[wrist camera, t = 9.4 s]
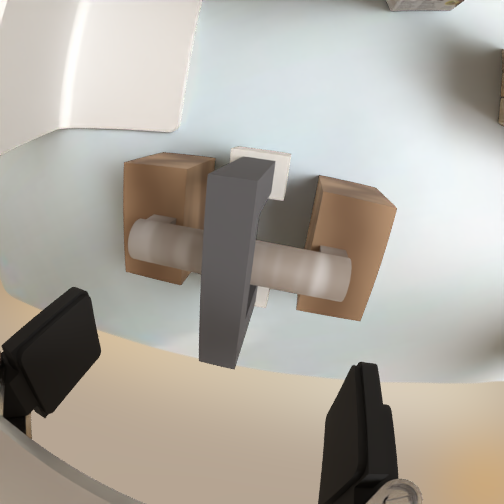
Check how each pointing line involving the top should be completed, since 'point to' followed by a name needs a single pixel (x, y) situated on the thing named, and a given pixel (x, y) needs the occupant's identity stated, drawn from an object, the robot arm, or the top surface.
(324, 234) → the wooden handle frame
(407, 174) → the top surface
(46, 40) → the tablet stand
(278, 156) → the grey c-shaped block
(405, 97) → the top surface
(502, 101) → the block tower
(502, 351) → the top surface
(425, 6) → the coffee box
